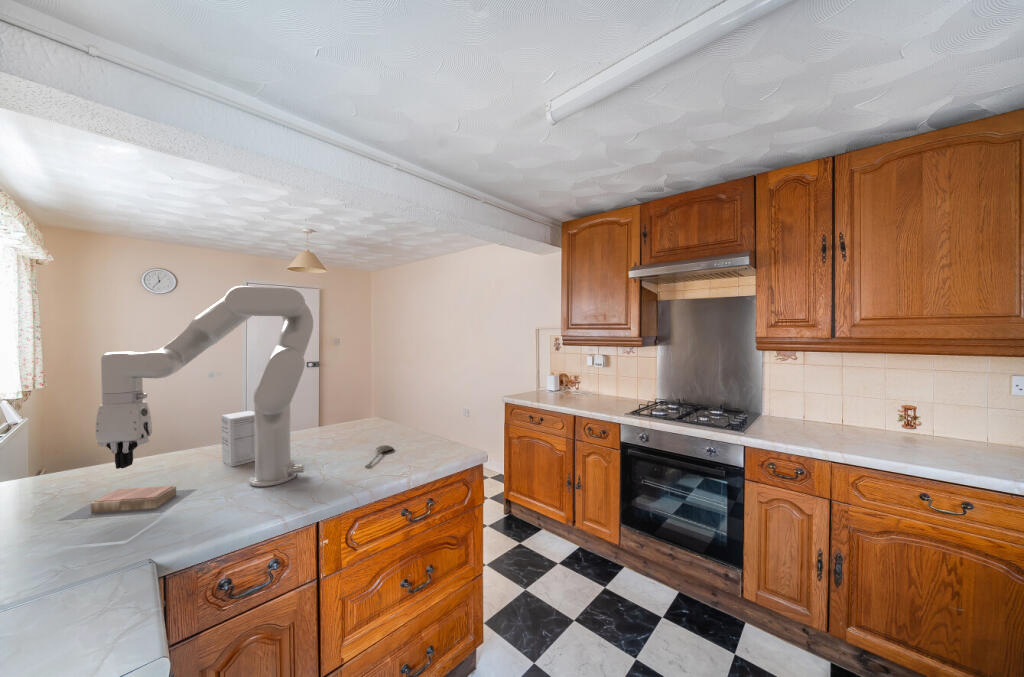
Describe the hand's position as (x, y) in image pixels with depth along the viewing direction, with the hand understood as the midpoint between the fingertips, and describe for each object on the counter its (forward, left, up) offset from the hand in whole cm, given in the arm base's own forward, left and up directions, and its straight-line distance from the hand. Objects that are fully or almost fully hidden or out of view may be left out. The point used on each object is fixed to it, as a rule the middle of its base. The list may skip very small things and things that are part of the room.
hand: (124, 466), depth 100 cm
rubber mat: (-2, 0, -11) cm, 11 cm away
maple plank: (+4, 0, -9) cm, 10 cm away
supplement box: (-13, -32, -11) cm, 37 cm away
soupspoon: (-60, -28, -11) cm, 67 cm away
